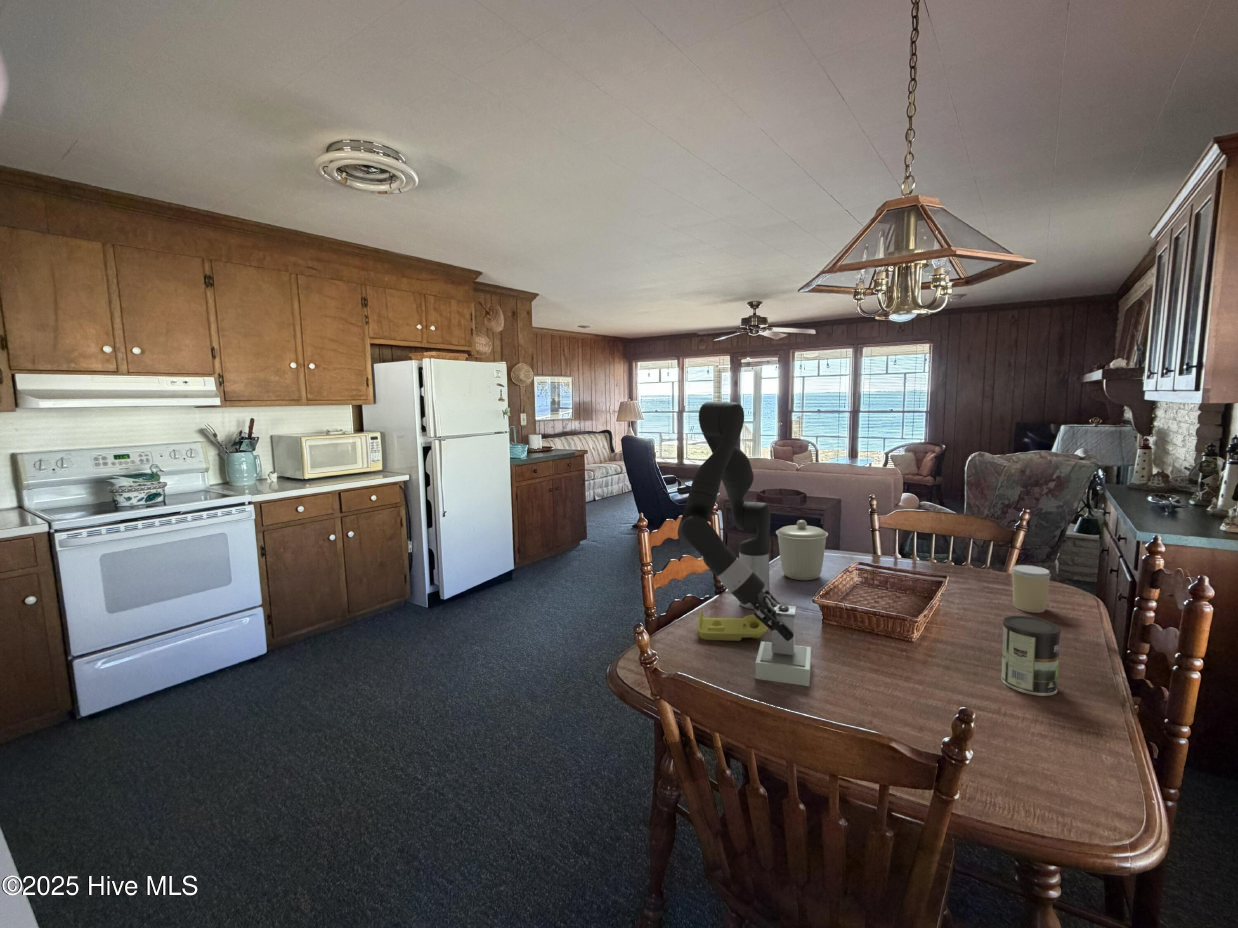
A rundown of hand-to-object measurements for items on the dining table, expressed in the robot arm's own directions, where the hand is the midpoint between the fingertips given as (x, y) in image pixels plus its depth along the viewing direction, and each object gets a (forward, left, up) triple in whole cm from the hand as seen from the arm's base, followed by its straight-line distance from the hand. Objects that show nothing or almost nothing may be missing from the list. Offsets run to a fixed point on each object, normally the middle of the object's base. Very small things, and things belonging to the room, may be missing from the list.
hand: (791, 633), depth 132 cm
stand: (0, -2, -10) cm, 10 cm away
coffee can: (-9, +50, -10) cm, 52 cm away
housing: (0, -2, -4) cm, 5 cm away
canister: (-75, -1, -10) cm, 76 cm away
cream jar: (-61, +65, -10) cm, 90 cm away
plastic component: (-17, -16, -10) cm, 25 cm away
